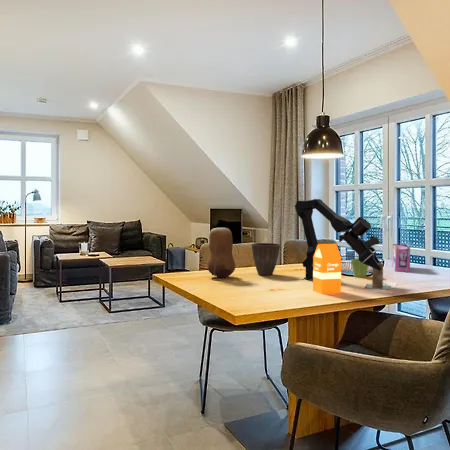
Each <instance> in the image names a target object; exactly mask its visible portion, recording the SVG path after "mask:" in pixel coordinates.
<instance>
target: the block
mask: <svg viewBox="0 0 450 450" xmlns="http://www.w3.org/2000/svg"><path fill="white" fill-rule="evenodd" d="M378 265H379V266H380V268H381V270H380V271H379V270H377V269H375V268H372V275H371V276H372V282H371V284H372V287H379V288H382V287H383V282H384V263H383V262H380V263H378Z"/></svg>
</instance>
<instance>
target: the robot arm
mask: <svg viewBox="0 0 450 450" xmlns="http://www.w3.org/2000/svg"><path fill="white" fill-rule="evenodd" d="M294 209H295V212H296V214H297V216H298V217H299V218H300V219H301V222H302V226H303V227H302V228H303V231H304V232H303V233H304V235H305V236H304V237H305V240H306V245H307V249H306V258H305V259H304V261H303V262H302V267H303V268H305V277H303V280H308V281H312V282H313V256H314V254H315V251H316V248H317V246H318V244H319V242H318V240H317V235H316V231H315V226H314V222H313V218H312V217H313V212H314V210H317V212H319V213H320V214H321V215H322V216H323V217H324V218H326V220H327V221H328V222H329V223H330V225H331V227H332V228H333V230H334V231H335V232H336V233H343V234H340V235H338V237H339V239H338V242H339V243H341V242H342V241H344V242H345V243H346V244H347V245H348V246H349V247H350V248H351V250H352V251H354V252H355V254H357V255H358V258H357V259H358V260H359V261H360V262H361V263H362V262H363V261H364V260H365V262H363V264H365V265H368V267H371V268H372V269H373V268H375V269H377V270H379V271H380V270H381V268H380V266H379V265H378V263H381V261H380V260H379V258H378V256H377V250H376V248H375V247H373V246H375V245H380V243H381V241H380V238H379V237H378V236H377V235H376V236H374V235H371V236H369V239H367V240H365V239H362V238H361V237H363V236H364V235H365V234H366V233H367V232H368V231H369V230H370V229H371V228H372V225H371V223H370V222H369V221H367V220H366V219H365V218H363V217H362V216H359V217H357V219H356V220H355V221H354V222H351V221H350V220H349V219H348V218H345V217H343V216H341V215H339V214H337V212H336V211H334V210H333V209H332V208H330V207H329V206H328V205H327V204H326V203H325V202H324V201H323V200H322V199H321V198H320V199H319V198H313V199H310V200H298V201H296V203H295V205H294Z"/></svg>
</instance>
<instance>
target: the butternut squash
mask: <svg viewBox="0 0 450 450" xmlns="http://www.w3.org/2000/svg"><path fill="white" fill-rule="evenodd" d="M208 234H209V237H208V242H209V243H208V248H209V251H210V252H209V255H208V256H209V257H208V260H207V270H208V272H209V273H210V274H211V275H212V276H213V277H214V276H215V277H216V276H217V277H216V278H219V277H222V278H221V279H224V277H227V278H228V277H230V276H231V275H232V274H233V273H234V272H235V270H236V262H235V259H234V256H233V246H234V245H233V244H234V241H233V234H232V231H231V230H230V228H228V227H215V228H212V229H211V230H210V231H209V233H208Z"/></svg>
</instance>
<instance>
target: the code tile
mask: <svg viewBox="0 0 450 450" xmlns="http://www.w3.org/2000/svg"><path fill="white" fill-rule="evenodd" d="M383 285H390V287H397V282H385V281H383Z"/></svg>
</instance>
